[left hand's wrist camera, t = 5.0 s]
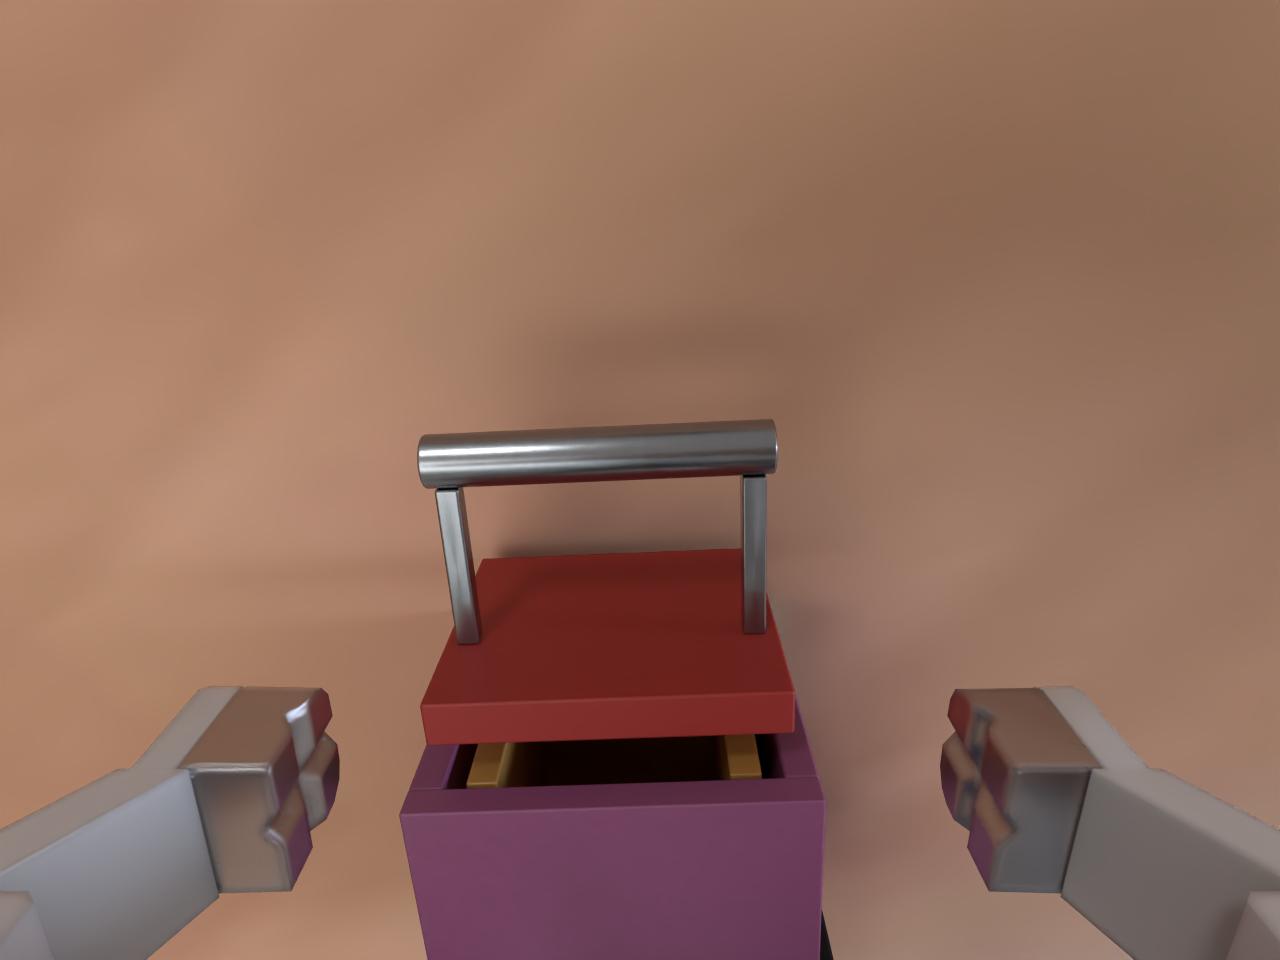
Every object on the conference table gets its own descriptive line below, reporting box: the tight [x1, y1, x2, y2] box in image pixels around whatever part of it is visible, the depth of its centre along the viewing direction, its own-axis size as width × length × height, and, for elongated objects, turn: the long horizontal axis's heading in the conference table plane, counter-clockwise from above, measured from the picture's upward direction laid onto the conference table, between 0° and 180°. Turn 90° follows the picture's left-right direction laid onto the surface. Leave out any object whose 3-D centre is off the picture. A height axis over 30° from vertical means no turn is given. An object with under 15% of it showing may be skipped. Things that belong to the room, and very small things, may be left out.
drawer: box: [417, 419, 795, 789], centre depth 24 cm, size 17×9×8 cm, turn 3°
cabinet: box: [399, 599, 826, 960], centre depth 26 cm, size 13×10×10 cm
